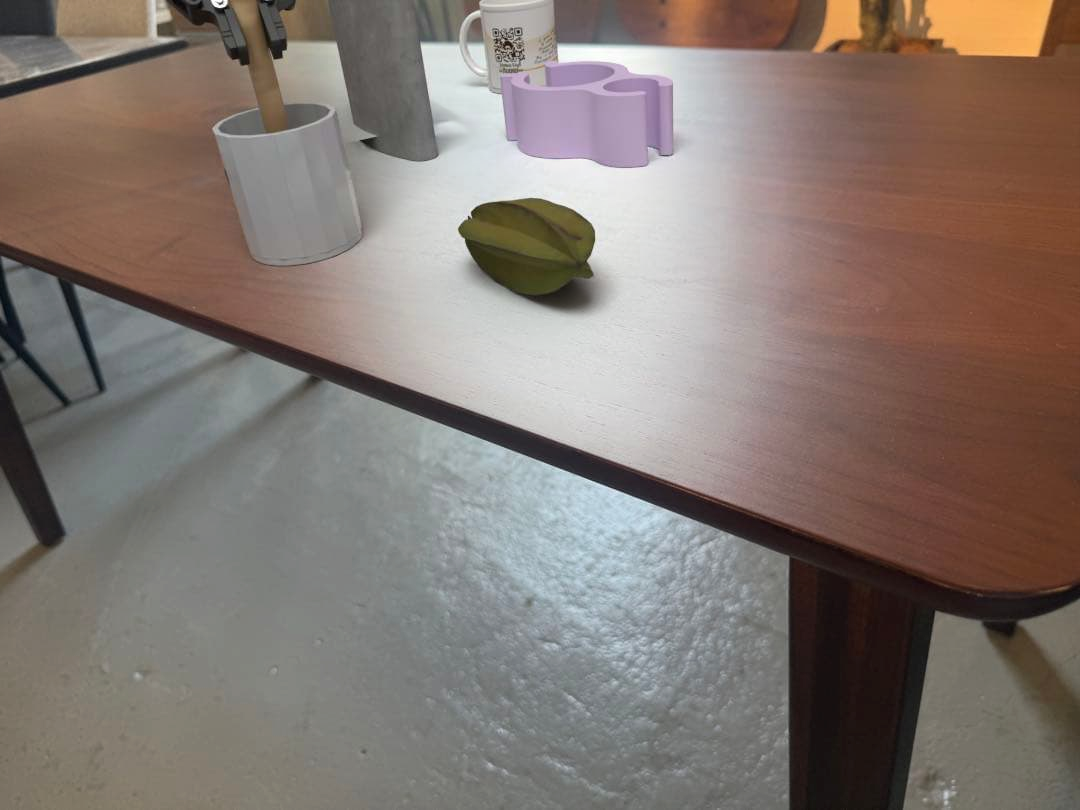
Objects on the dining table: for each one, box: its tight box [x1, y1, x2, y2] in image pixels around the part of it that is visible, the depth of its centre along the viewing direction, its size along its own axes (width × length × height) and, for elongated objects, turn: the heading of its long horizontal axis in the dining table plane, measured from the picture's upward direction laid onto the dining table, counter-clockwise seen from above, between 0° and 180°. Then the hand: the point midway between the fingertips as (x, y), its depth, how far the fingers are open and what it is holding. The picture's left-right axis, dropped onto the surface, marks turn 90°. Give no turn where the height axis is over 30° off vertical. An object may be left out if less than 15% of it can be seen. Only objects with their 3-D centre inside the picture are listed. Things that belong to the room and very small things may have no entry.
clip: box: [500, 60, 674, 168], centre depth 92 cm, size 20×12×7 cm, turn 41°
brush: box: [229, 0, 290, 134], centre depth 71 cm, size 4×4×18 cm
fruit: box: [457, 197, 596, 296], centre depth 64 cm, size 11×12×7 cm
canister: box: [211, 101, 363, 267], centre depth 74 cm, size 10×10×11 cm
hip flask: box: [327, 0, 439, 162], centre depth 94 cm, size 16×4×20 cm, turn 38°
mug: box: [458, 0, 559, 95], centre depth 116 cm, size 10×12×11 cm
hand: (261, 55), depth 67 cm, fingers closed on brush, 2 cm apart
